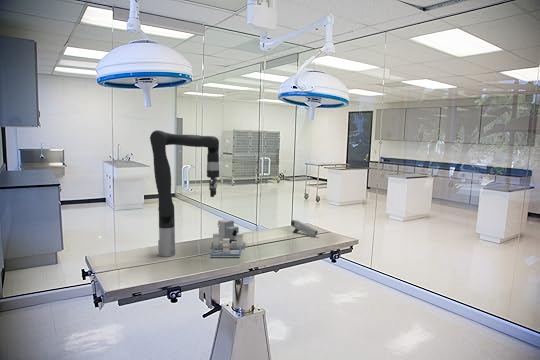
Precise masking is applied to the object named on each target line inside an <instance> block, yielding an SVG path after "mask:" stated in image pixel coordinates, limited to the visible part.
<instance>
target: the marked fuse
mask: <svg viewBox="0 0 540 360" xmlns="http://www.w3.org/2000/svg"><path fill="white" fill-rule="evenodd" d="M222 242H223V250H222V254H230V251H231V250H229V245H230V241H229V239H223V241H222Z"/></svg>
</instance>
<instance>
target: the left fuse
mask: <svg viewBox="0 0 540 360" xmlns="http://www.w3.org/2000/svg"><path fill="white" fill-rule="evenodd" d="M219 236H220V233H219V232H213V233H212V238H213V239H212V241H213V248H219V247H220V240H219Z"/></svg>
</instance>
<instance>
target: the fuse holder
mask: <svg viewBox="0 0 540 360" xmlns="http://www.w3.org/2000/svg"><path fill="white" fill-rule="evenodd" d="M219 244H220V247H219V248H223V241H220V240H219ZM229 248H237V240H236V241H234V240H232V241H231V244H229ZM245 249H246V241H244V240H243V248H241V250H245ZM209 250H213V240H212V241H210V248H209Z"/></svg>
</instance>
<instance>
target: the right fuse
mask: <svg viewBox="0 0 540 360" xmlns="http://www.w3.org/2000/svg"><path fill="white" fill-rule="evenodd" d="M243 237H244V235H243V232H239V233H237V238H236V245H237V248H243V241H244V239H243Z"/></svg>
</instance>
